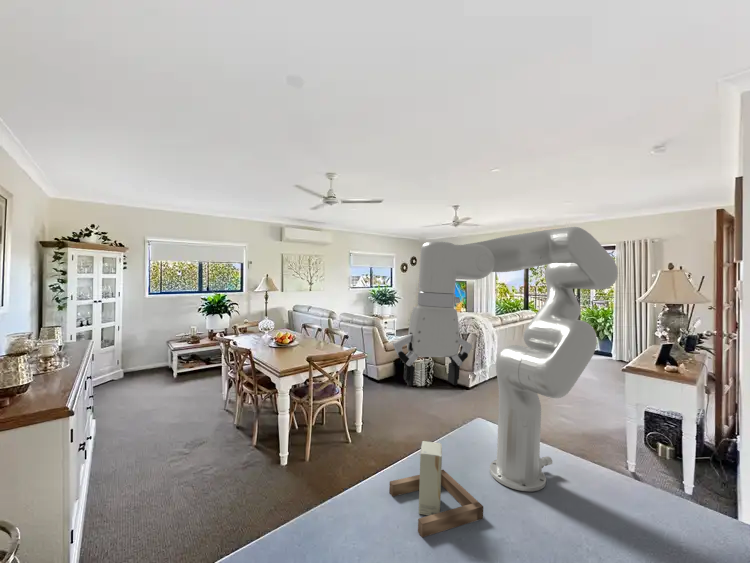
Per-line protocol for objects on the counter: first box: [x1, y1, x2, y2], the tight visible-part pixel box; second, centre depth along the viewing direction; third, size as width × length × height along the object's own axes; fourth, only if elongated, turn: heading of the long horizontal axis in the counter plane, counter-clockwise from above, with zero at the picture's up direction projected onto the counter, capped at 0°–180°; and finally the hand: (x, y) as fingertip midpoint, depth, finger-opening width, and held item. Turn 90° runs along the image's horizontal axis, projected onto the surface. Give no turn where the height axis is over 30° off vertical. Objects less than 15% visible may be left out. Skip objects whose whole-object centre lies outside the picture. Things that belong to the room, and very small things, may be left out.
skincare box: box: [418, 440, 443, 516], centre depth 72 cm, size 6×4×12 cm
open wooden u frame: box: [388, 469, 484, 538], centre depth 72 cm, size 14×14×2 cm
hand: (431, 383), depth 72 cm, fingers open, 9 cm apart
